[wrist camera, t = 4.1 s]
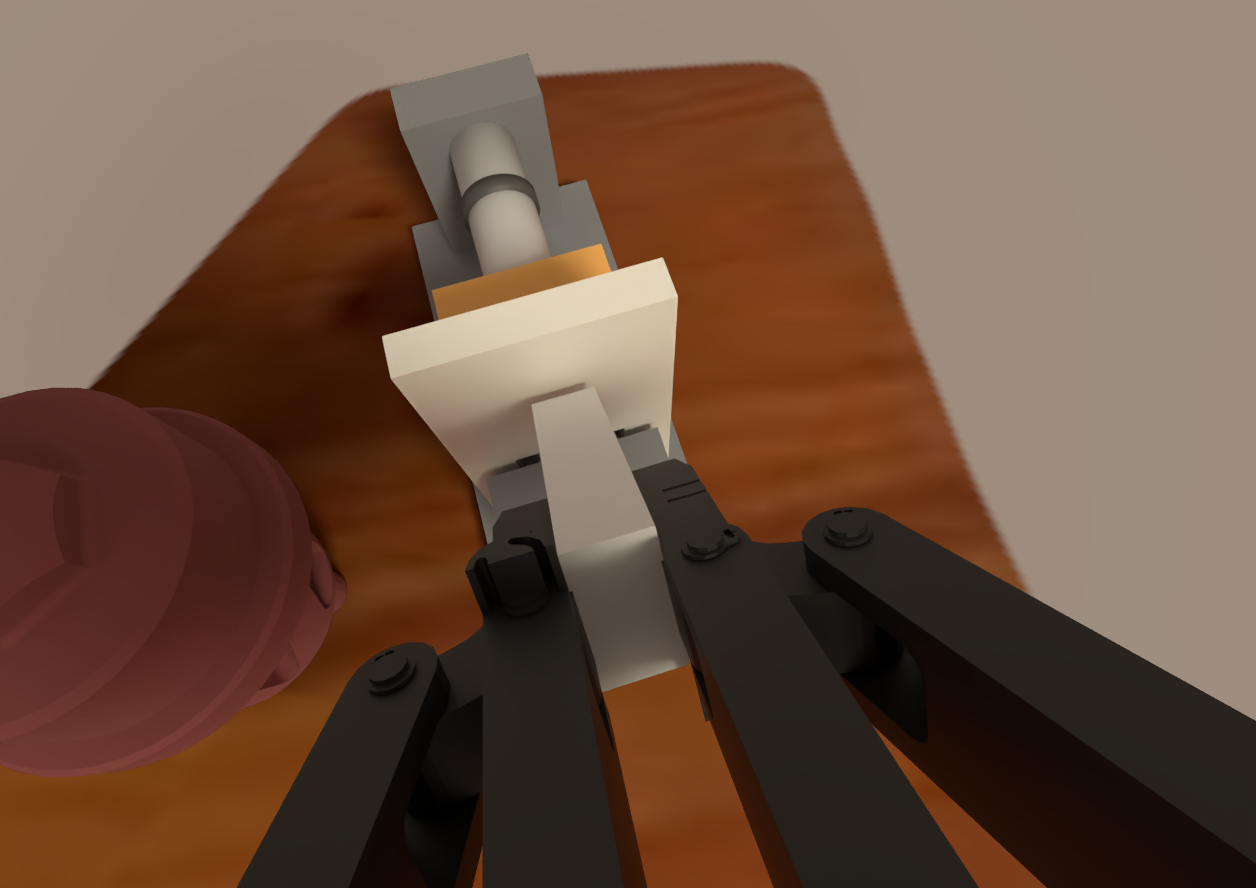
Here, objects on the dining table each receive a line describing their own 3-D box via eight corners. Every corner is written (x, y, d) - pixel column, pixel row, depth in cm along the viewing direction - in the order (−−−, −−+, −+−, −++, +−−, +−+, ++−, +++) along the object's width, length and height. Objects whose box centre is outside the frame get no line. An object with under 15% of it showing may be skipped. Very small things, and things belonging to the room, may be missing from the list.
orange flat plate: (620, 357, 26) (612, 275, 21) (480, 398, 25) (440, 324, 21) (610, 330, 26) (601, 243, 21) (473, 369, 26) (431, 290, 21)
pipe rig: (709, 541, 27) (731, 475, 20) (507, 604, 27) (448, 562, 19) (588, 197, 33) (568, 43, 25) (419, 243, 33) (347, 99, 25)
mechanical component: (234, 822, 24) (76, 623, 27) (447, 601, 27) (283, 438, 29) (-140, 924, 13) (-355, 559, 15) (292, 520, 15) (43, 262, 18)
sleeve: (667, 477, 26) (677, 296, 15) (507, 525, 25) (390, 378, 14) (634, 382, 27) (621, 149, 16) (482, 426, 27) (358, 220, 16)
